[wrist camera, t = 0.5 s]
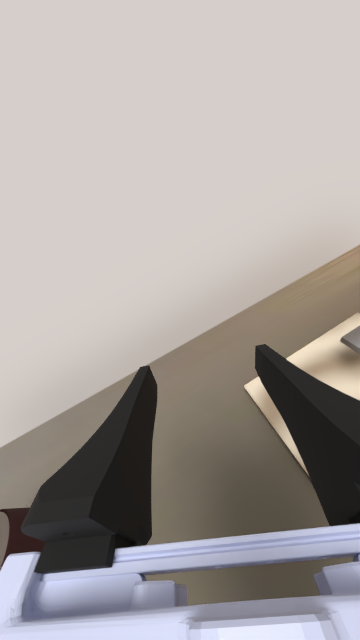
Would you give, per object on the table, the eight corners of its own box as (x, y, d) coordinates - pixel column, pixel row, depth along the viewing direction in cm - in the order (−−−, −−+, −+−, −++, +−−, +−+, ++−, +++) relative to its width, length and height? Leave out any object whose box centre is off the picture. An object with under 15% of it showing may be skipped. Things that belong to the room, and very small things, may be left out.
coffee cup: (37, 515, 29) (-97, 540, 19) (85, 482, 29) (-25, 489, 19) (21, 623, 22) (-208, 754, 12) (84, 578, 22) (-93, 673, 12)
